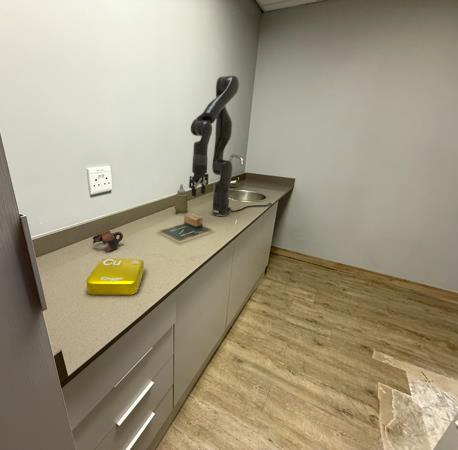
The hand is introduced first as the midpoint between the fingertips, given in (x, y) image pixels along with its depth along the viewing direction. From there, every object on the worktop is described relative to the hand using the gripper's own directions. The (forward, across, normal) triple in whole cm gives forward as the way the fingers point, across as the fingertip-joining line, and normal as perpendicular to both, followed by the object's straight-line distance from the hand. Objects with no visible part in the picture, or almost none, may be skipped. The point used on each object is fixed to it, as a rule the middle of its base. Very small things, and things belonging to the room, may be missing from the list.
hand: (198, 194), depth 128 cm
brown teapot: (+17, -47, +13) cm, 52 cm away
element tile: (+17, -61, -10) cm, 64 cm away
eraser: (+15, -6, -1) cm, 16 cm away
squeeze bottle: (+17, +9, +19) cm, 27 cm away
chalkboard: (+17, -14, -3) cm, 22 cm away
